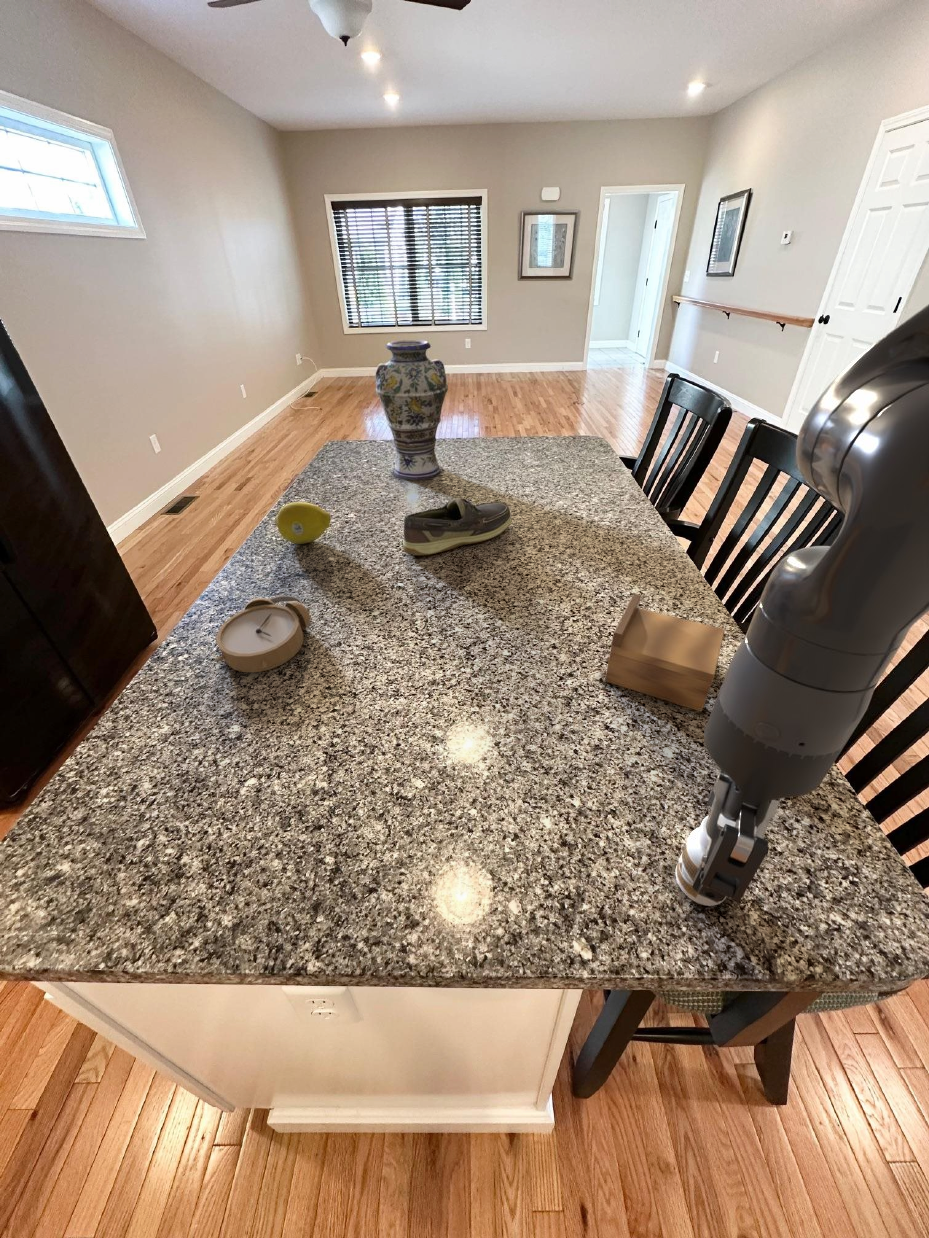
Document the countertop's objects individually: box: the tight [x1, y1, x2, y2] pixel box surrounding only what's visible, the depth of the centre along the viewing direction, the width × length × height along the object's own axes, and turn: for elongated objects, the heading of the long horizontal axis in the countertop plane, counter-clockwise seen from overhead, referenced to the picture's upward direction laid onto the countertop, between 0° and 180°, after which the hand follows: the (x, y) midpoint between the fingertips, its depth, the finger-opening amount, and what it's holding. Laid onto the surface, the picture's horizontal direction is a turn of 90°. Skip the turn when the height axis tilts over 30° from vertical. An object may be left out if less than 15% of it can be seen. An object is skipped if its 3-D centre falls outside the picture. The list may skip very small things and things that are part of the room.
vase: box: [374, 339, 449, 481], centre depth 126 cm, size 17×17×30 cm
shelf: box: [604, 593, 726, 712], centre depth 66 cm, size 12×10×8 cm
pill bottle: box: [674, 813, 736, 907], centre depth 43 cm, size 4×4×8 cm
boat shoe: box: [402, 497, 513, 556], centre depth 100 cm, size 9×25×8 cm, turn 130°
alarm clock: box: [215, 595, 312, 673], centre depth 75 cm, size 11×5×15 cm
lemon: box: [274, 501, 331, 545], centre depth 100 cm, size 11×8×8 cm
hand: (714, 846), depth 43 cm, fingers open, 8 cm apart
